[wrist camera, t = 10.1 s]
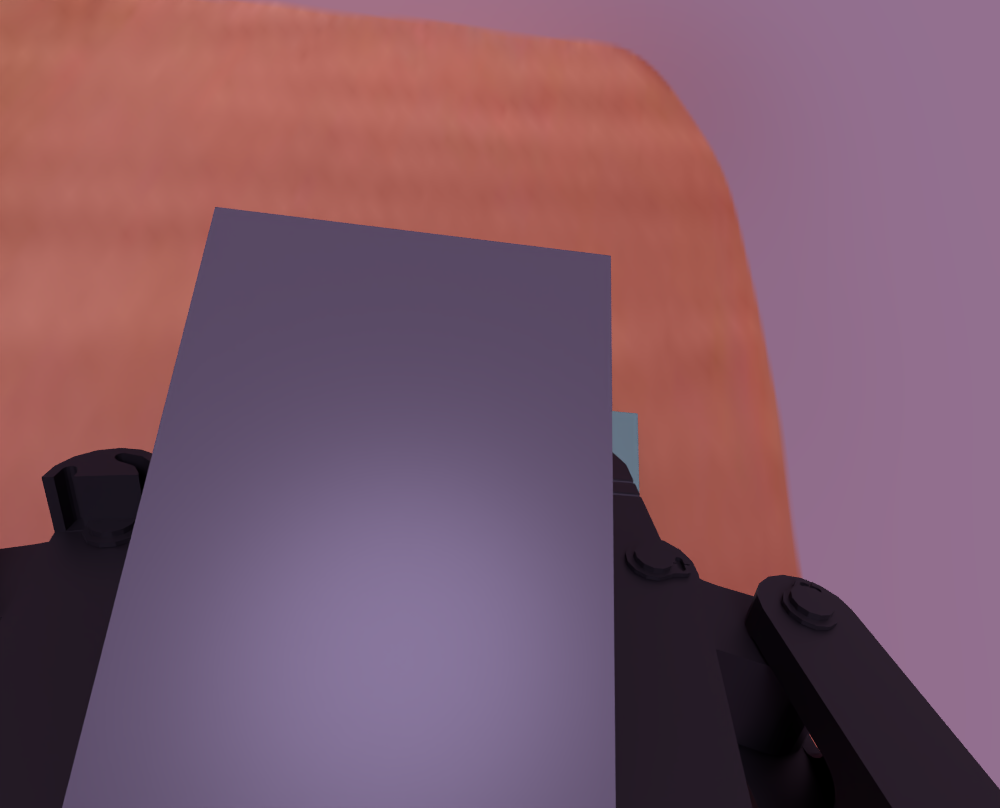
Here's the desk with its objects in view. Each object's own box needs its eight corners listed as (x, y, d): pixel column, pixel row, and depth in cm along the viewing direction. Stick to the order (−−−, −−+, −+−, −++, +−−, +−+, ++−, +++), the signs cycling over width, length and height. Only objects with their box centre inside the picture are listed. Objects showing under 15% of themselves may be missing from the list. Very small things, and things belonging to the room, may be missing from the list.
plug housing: (321, 667, 15) (54, 831, 4) (348, 470, 17) (214, 206, 6) (474, 674, 16) (616, 840, 5) (486, 481, 17) (610, 255, 6)
